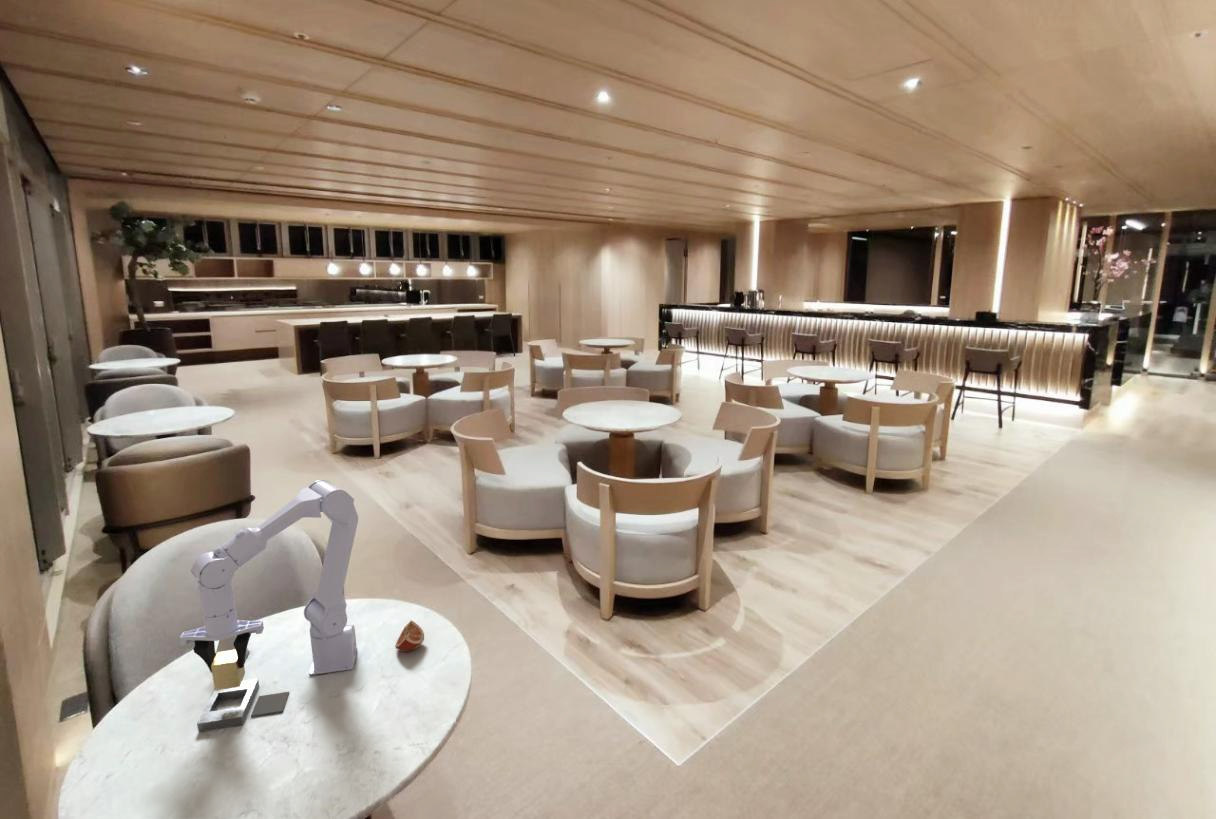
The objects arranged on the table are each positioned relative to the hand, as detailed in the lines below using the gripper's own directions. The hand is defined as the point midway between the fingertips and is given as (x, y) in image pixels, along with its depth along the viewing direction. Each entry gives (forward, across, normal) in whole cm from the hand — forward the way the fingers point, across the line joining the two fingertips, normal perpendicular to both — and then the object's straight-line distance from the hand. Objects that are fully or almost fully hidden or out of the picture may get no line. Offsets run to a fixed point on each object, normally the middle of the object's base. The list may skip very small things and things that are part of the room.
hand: (228, 667), depth 128 cm
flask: (+10, +5, -18) cm, 22 cm away
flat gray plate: (+10, -7, +1) cm, 12 cm away
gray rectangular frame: (+10, +1, 0) cm, 10 cm away
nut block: (+3, 0, 0) cm, 4 cm away
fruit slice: (+10, -36, -11) cm, 39 cm away
